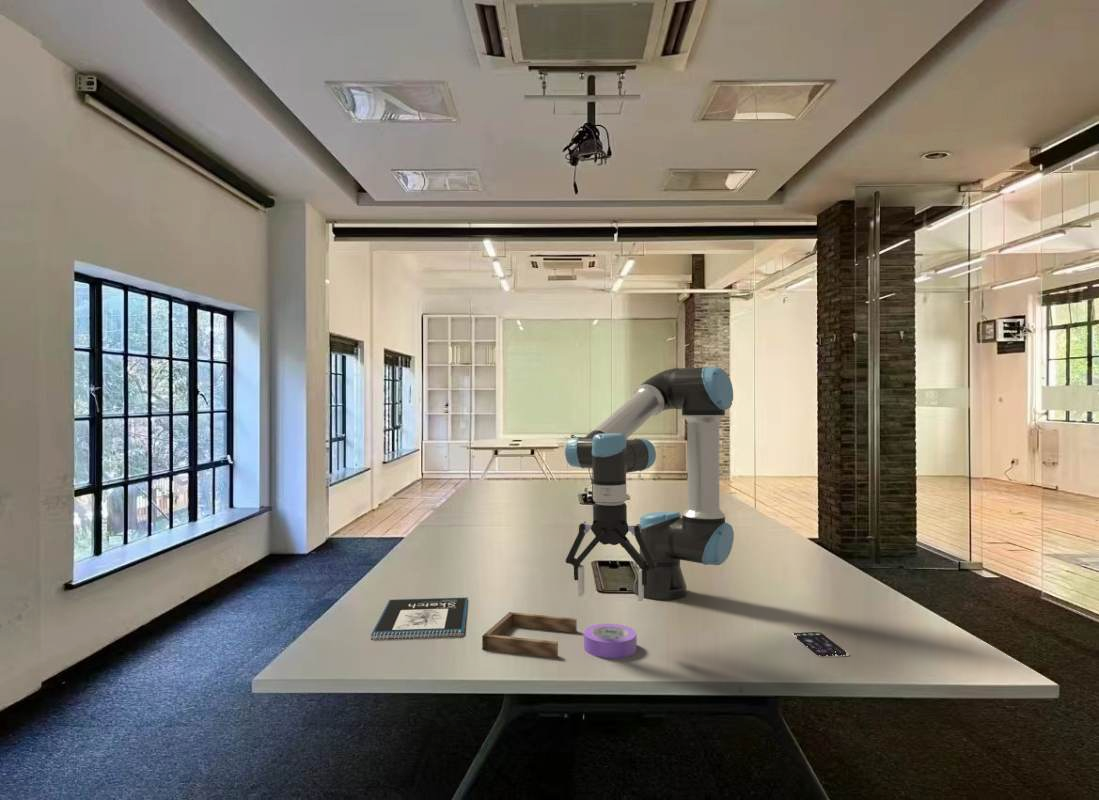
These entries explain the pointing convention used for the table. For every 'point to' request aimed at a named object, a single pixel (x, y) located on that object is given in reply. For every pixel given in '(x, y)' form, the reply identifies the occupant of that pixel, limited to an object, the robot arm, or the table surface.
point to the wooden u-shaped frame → (523, 645)
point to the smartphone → (819, 644)
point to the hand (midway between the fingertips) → (610, 597)
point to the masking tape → (610, 640)
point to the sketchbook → (422, 618)
